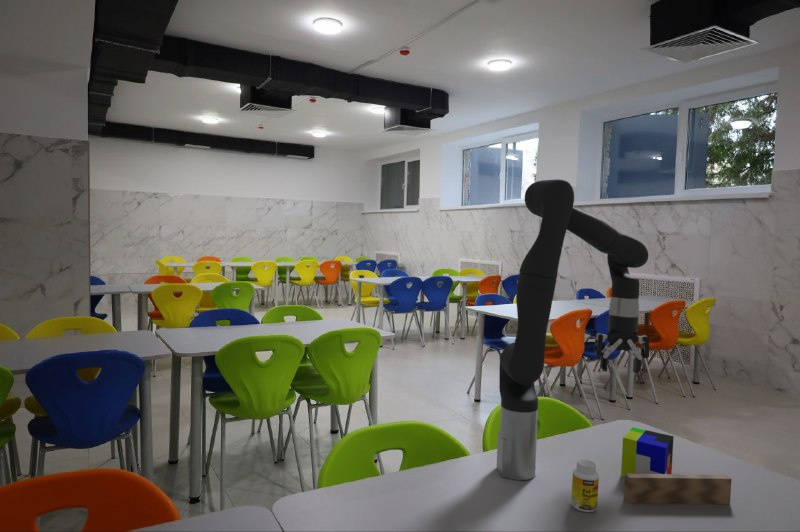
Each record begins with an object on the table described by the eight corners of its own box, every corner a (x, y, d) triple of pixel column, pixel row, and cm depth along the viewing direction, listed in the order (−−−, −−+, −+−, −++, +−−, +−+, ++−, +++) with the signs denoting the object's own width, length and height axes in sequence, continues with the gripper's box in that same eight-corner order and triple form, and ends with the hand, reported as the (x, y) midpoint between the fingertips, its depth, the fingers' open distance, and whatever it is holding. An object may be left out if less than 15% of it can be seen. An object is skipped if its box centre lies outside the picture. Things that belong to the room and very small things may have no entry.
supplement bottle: (580, 514, 115) (582, 469, 114) (566, 502, 120) (568, 458, 119) (602, 512, 116) (604, 467, 115) (588, 500, 121) (590, 456, 121)
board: (628, 503, 120) (629, 477, 120) (624, 498, 122) (625, 473, 122) (729, 504, 121) (731, 478, 121) (724, 499, 123) (725, 474, 123)
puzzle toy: (663, 487, 129) (665, 447, 128) (621, 475, 135) (622, 437, 134) (671, 473, 137) (673, 436, 136) (630, 463, 143) (632, 427, 142)
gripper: (602, 314, 141) (598, 373, 142) (656, 317, 140) (652, 376, 141) (593, 310, 149) (589, 367, 149) (644, 313, 148) (640, 369, 149)
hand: (620, 371), depth 145 cm, fingers open, 8 cm apart
